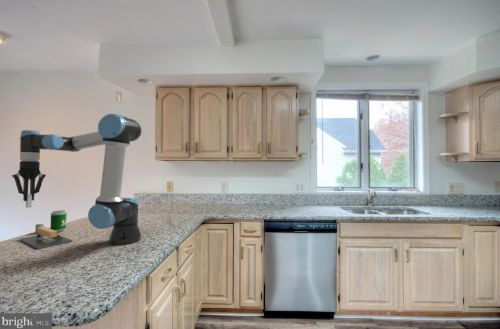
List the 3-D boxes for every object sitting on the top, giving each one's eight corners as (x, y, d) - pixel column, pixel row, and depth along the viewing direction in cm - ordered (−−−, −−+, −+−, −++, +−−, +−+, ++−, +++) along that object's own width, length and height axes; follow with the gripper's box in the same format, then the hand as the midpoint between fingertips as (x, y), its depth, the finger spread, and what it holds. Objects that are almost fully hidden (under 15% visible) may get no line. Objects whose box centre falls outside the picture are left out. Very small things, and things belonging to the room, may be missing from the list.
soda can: (57, 233, 142) (57, 212, 142) (47, 232, 144) (47, 212, 144) (69, 230, 150) (69, 210, 150) (59, 229, 151) (59, 209, 151)
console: (71, 241, 127) (72, 235, 127) (37, 249, 115) (38, 242, 115) (52, 234, 139) (52, 229, 139) (20, 240, 127) (20, 234, 127)
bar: (57, 236, 123) (57, 228, 123) (49, 238, 121) (50, 230, 121) (41, 230, 134) (42, 223, 134) (34, 232, 131) (34, 224, 131)
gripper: (43, 161, 131) (41, 205, 131) (9, 160, 120) (8, 208, 120) (48, 161, 127) (47, 206, 127) (15, 160, 116) (13, 209, 116)
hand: (28, 207), depth 123 cm, fingers closed
